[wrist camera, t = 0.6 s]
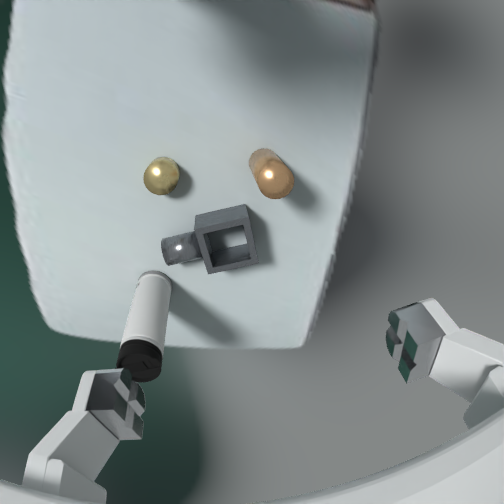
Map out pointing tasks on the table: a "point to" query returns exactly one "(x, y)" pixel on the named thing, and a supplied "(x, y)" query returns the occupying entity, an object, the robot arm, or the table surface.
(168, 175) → the brass round knob
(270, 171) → the copper brown cylinder
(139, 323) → the travel mug
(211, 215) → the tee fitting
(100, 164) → the table surface
